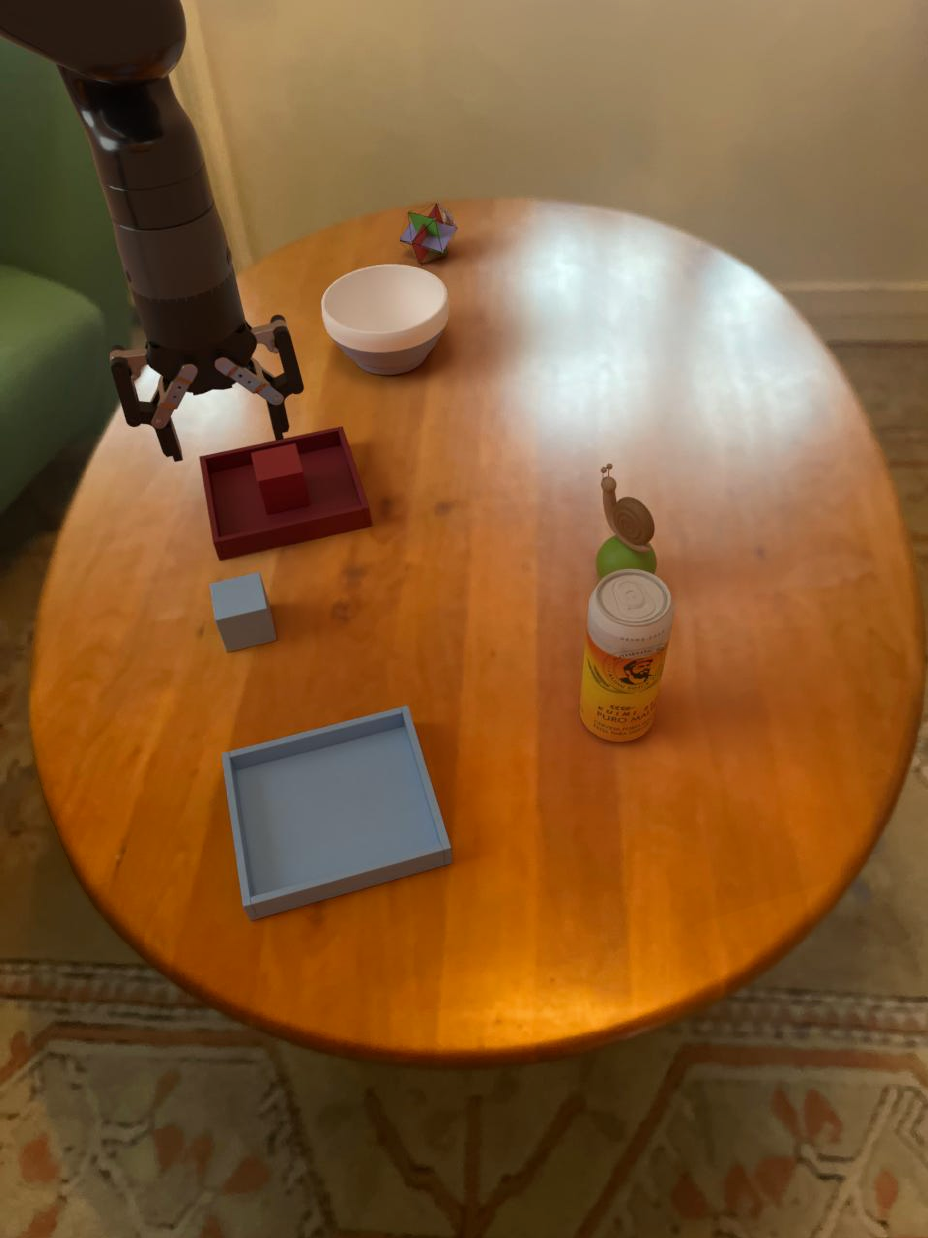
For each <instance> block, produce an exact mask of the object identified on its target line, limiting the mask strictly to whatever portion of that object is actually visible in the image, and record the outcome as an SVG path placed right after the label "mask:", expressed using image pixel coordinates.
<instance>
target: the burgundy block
mask: <svg viewBox="0 0 928 1238" xmlns="http://www.w3.org/2000/svg"><path fill="white" fill-rule="evenodd" d="M251 455H252V459H253V464H254V468H255V473H256V478H257V482H258V486H259V489H260V493H261V496H262V500H263V504H264V507H265V511H266V514H272V513H276V512H281V511H285V510H290V509H294V508H299V507H303V506H308V505H310V499H309V495H308V491H307V486H306V482H305V477H304V473H303V469H302V465H301V461H300V458H299V454H298V450H297V447H296V444H290V445H285V446H281V447H276V448H271V449H267V450H262V451H257V452H253V453H251Z"/></svg>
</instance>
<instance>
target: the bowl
mask: <svg viewBox="0 0 928 1238" xmlns="http://www.w3.org/2000/svg"><path fill="white" fill-rule="evenodd" d="M449 298H450V297H449V294H448V289H447V286H446V285H445V284H444V282H443V280H442V279H440V278H439V277H438V276H437V275H435V274H434V273H432V272H430V271H429V270H426V269H423V268H420V267H417V266H412V265H407V264H397V263H395V264H394V263H393V264H388V263H386V264H385V263H384V264H378V265H370V266H366V267H361V268H358V269H355V270H353V271H350V272H349V273H348V272H347V273H346V274H344V275H342V276H341V277H339V278H337V279H336V280H334V281H333V282H332V283H331V284H330V285H329V286H328V287H327V288H326V290H325V292H324V293H323V294H322V298H321V300H320V302H321V303H320V304H321V305H320V306H321V318H322V321H323V325H324V328H325V331H326V332H327V334H328V335H329V336H330V337H331V339H332V341H333V342H334V343H335V344H336V345H337V346H338V347H339V349H341V351H342V352H343V353H344V354H345V356H347V357H348V358H349V359H351V360H352V361H354V362H355V364H356V365H357V366H358V367H359V368H361V370H363V371H365V372H367V373H370V374H374V375H381V376H393V375H394V376H395V375H401V374H405V373H408V372H410V371H412V370H415V369H417V368H418V367H419V366H420V365H422V364H423V363H424V362H425V360H426V358H427V356H428V355H429V354H430V352H431V351H432V350H433V349H434V347H435V346H436V345H437V344H438V341H439V338H440V337H441V336H442V333H443V331H444V330H445V327H446V325H447V322H448V320H449V315H450V299H449Z"/></svg>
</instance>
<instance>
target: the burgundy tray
mask: <svg viewBox="0 0 928 1238" xmlns="http://www.w3.org/2000/svg"><path fill="white" fill-rule="evenodd" d="M283 438H284V439H282V440H277V441H276V440H270V441H265V442H262V443H256V444H251V445H247V446H242V447H237V448H231V449H228V450H224V451H217V452H213V453H210V454H205V455H199V457H198V459H199V465H200V470H201V478H202V482H203V488H204V494H205V500H206V501H205V502H206V507H207V514H208V519H209V526H210V533H211V538H212V544H213V547H214V550H215V552H216V556H217V557H218V561H225V560H228V559H234V558H237V557H241V556H247V555H250V554H254V553H259V552H264V551H267V550H271V549H277V548H280V547H281V548H282V547H286V546H289V545H293V544H294V545H295V544H299V543H302V542H307V541H311V540H315V539H320V538H325V537H330V536H332V535H337V534H342V533H346V532H350V531H355V530H360V529H364V528H369V527H372V526H373V522H372V517H371V511H370V510H371V509H370V506H369V503H368V499H367V496H366V493H365V490H364V487H363V485H362V481H361V477H360V475H359V472H358V468H357V465H356V462H355V458H354V457H353V453H352V450H351V447H350V444H349V441H348V438H347V434H346V432H345V429H344V425H343V426H336V427H331V428H327V429H322V430H318V431H312V432H307V433H304V434H299V435H294V436H288V437H283ZM290 444H296V447H297V450H298V454H299V458H300V461H301V465H302V469H303V473H304V477H305V482H306V486H307V491H308V495H309V499H310V505H308V506H303V507H299V508H294V509H290V510H285V511H281V512H276V513H272V514H266V511H265V507H264V504H263V500H262V496H261V493H260V489H259V486H258V482H257V478H256V473H255V468H254V464H253V459H252V455H251V453H253V452H257V451H262V450H267V449H271V448H276V447H281V446H285V445H290Z"/></svg>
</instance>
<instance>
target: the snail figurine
mask: <svg viewBox="0 0 928 1238" xmlns="http://www.w3.org/2000/svg"><path fill="white" fill-rule="evenodd" d="M612 469H613V464H612V463H607V464H606V466H602V467H601V468H600V472H601V474H602V475H605V473H607V476H603V477H602V479H601V482H600V487H601V490H602V505H603V512H604V516H605V519H606V522H607V525H608V527H609V529H610V530H611V531H612V532H613V534H614V535H612V536H611V537H609V538H608V539H606V540H605V541H604V542H603V543H602V545H601V546H600V548H599V549H598V551H597V554H596V557H595V568H596V569H595V570H596V572H597V575H598V577H599V580H600V581H601V580H602V579H603V578H604V577H605V576H607V575H608V574H610V573H612V572H615V571H618V570H623V569H638V570H643V571H646V572H649V573H651V574H653V575H655V574H656V571H657V566H658V560H657V559H658V558H657V554H656V552H655V549H654V547H653V546H652V544H651V543H650V542H651V541H652V540H653V538H654V535H655V531H656V526H655V521H654V517H653V515H652V513H651V511H650V510H649V509H648V507H647V506H646V505H645V504H644V503H643V502H642V501H641V500H639V499H637V498H636V497H632V496H624V497H621V498H619V499H618V500H617V494H616V490H617V485H618V483H617V480H616V479H615V478H614V477H612V476H610V470H612Z"/></svg>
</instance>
